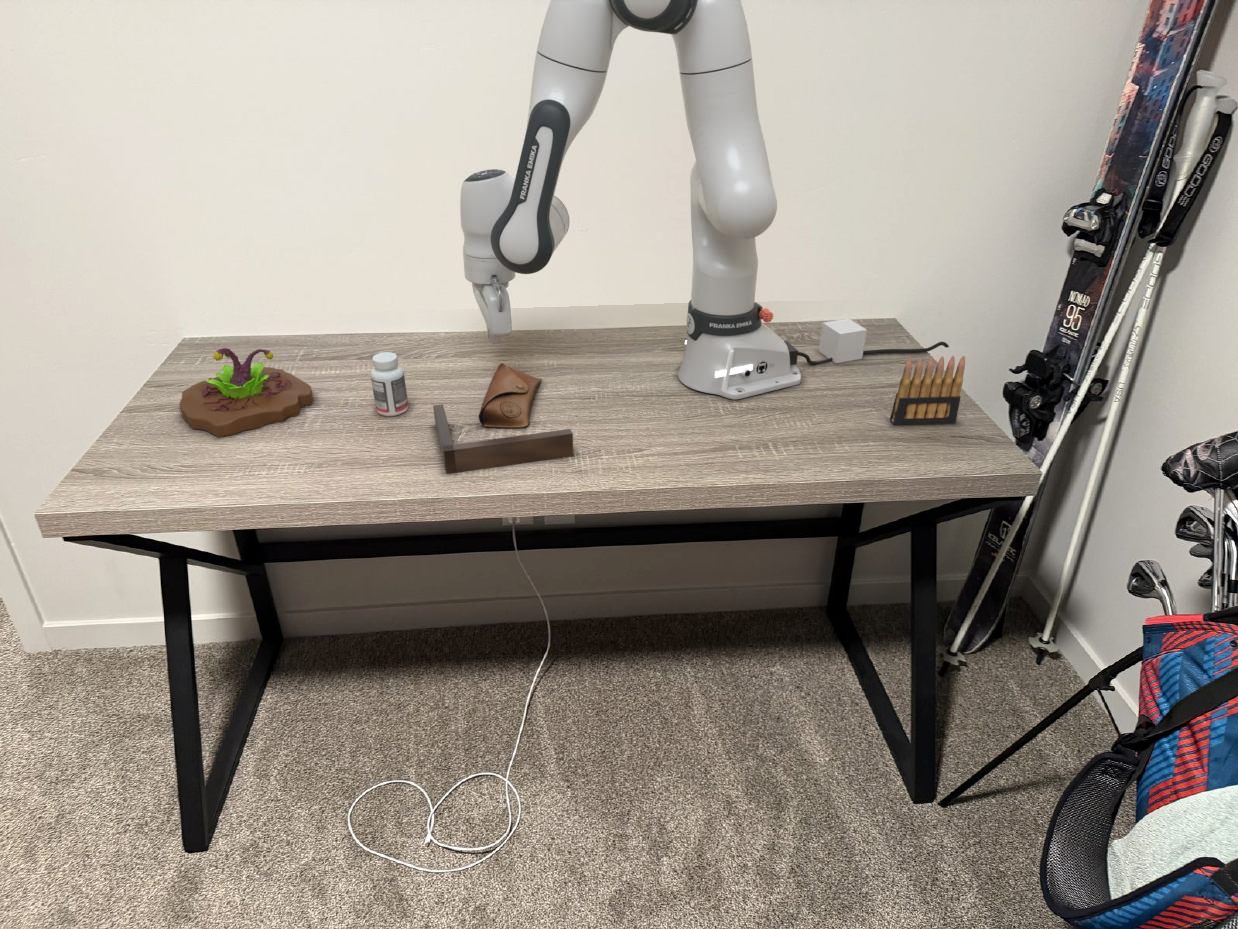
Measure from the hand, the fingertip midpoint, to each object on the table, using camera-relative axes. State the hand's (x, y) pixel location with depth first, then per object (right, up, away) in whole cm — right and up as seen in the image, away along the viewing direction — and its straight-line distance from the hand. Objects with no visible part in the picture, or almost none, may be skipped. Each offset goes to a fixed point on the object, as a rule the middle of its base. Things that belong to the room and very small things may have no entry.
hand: (493, 340), depth 156 cm
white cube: (+66, -1, +10) cm, 67 cm away
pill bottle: (-16, -13, -11) cm, 23 cm away
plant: (-41, -13, -10) cm, 44 cm away
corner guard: (+4, -19, -19) cm, 27 cm away
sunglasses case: (+4, -12, -8) cm, 15 cm away
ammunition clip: (+74, -16, -13) cm, 76 cm away
